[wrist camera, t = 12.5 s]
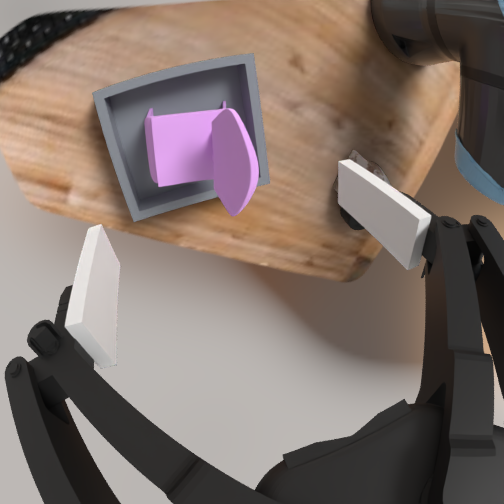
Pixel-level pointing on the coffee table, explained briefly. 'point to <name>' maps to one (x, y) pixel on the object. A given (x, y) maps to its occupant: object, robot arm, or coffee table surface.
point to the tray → (173, 102)
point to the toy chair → (203, 153)
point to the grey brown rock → (371, 168)
